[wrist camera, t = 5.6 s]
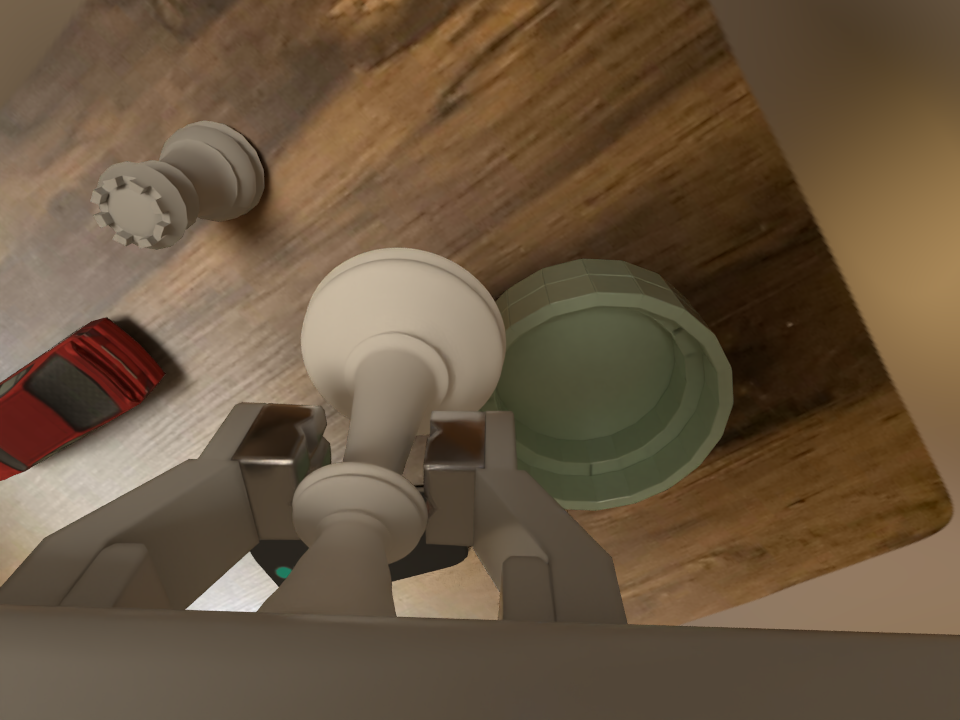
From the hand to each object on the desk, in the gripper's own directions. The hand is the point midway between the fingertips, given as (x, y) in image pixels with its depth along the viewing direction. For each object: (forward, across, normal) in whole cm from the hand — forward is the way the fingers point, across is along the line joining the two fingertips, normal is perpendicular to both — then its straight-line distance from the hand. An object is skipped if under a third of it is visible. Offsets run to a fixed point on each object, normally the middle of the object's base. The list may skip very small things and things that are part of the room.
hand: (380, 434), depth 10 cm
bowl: (+19, -8, +10) cm, 23 cm away
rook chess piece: (+19, +11, 0) cm, 22 cm away
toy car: (+19, +23, +13) cm, 32 cm away
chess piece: (+4, 0, 0) cm, 4 cm away
